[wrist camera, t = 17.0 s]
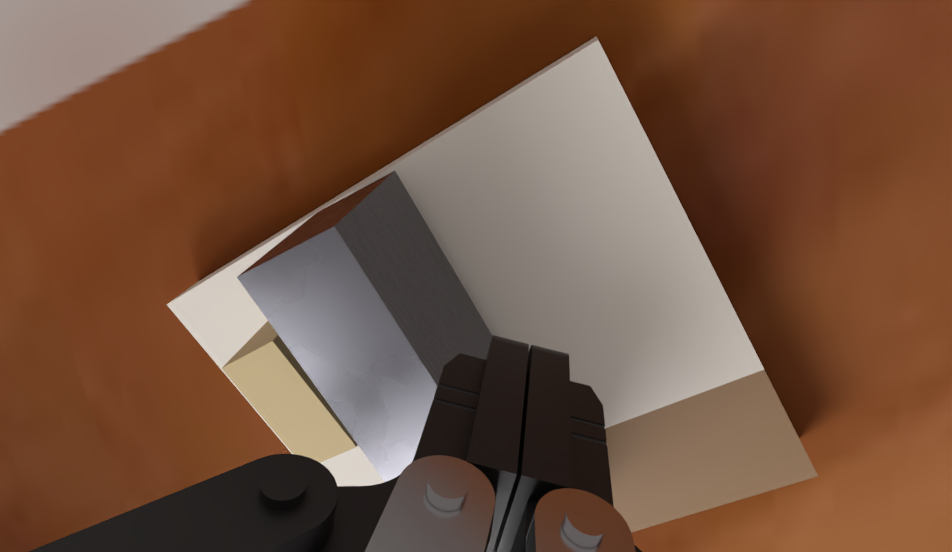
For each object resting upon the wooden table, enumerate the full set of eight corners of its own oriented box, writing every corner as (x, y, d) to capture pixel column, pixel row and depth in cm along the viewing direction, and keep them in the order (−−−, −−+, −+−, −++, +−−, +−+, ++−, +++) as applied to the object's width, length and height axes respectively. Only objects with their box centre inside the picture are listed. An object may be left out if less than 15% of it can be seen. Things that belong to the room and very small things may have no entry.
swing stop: (567, 462, 22) (564, 583, 17) (494, 485, 22) (474, 605, 18) (394, 170, 18) (334, 225, 13) (317, 212, 19) (236, 277, 14)
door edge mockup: (423, 561, 29) (344, 847, 19) (196, 282, 24) (-63, 472, 15) (799, 439, 23) (965, 765, 13) (596, 36, 18) (618, 74, 8)
